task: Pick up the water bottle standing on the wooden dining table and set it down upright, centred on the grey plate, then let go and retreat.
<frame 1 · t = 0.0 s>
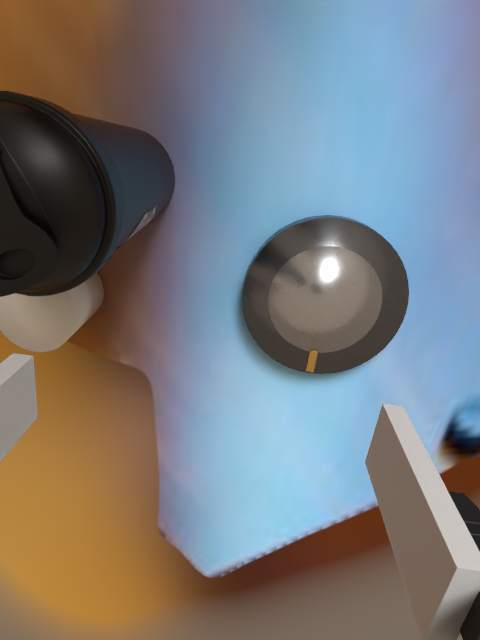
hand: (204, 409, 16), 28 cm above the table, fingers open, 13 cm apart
grey plate: (321, 295, 43), on the table
white rounded capsule: (71, 288, 45), on the table
water bottle: (130, 176, 40), on the table
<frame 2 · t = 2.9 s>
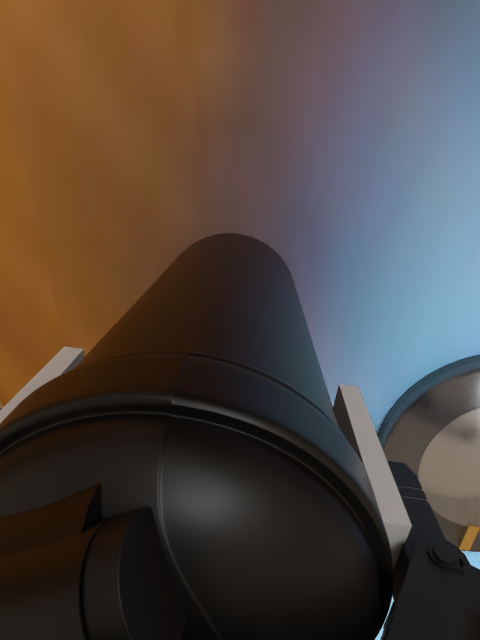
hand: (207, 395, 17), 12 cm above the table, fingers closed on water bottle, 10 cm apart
water bottle: (230, 297, 28), on the table, touching gripper
when the fingers open (15 cm above the table, at t = 9.3 s): water bottle moves 3 cm, resting on grey plate.
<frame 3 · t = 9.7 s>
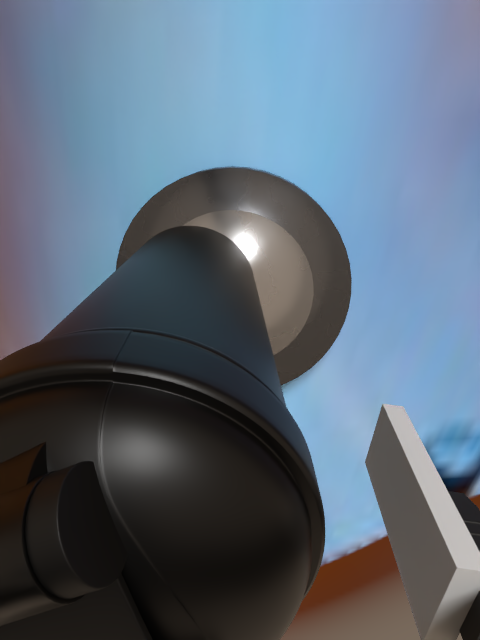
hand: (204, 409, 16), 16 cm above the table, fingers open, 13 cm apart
grey plate: (233, 283, 31), on the table
water bottle: (192, 287, 29), point 2 cm above the table, touching grey plate, gripper
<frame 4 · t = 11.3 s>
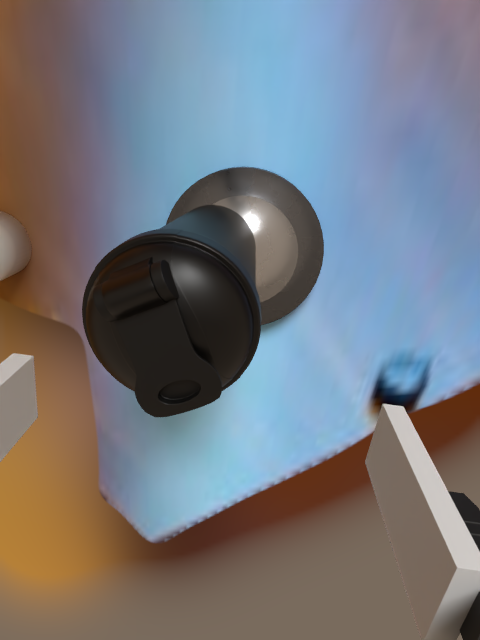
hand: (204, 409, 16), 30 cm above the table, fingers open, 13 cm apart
grey plate: (243, 248, 44), on the table
water bottle: (213, 248, 42), point 2 cm above the table, touching grey plate
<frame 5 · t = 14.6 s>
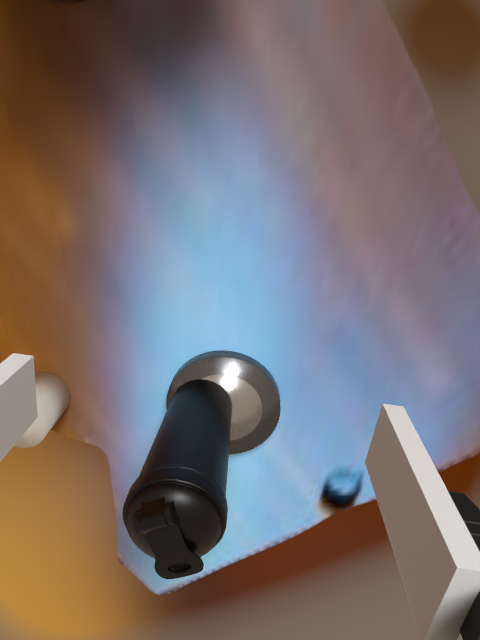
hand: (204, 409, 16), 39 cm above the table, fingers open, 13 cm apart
grey plate: (224, 400, 61), on the table
white rounded capsule: (47, 393, 63), on the table
water bottle: (202, 404, 60), point 2 cm above the table, touching grey plate
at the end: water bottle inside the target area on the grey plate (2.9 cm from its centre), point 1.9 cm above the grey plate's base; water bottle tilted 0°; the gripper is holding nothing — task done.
